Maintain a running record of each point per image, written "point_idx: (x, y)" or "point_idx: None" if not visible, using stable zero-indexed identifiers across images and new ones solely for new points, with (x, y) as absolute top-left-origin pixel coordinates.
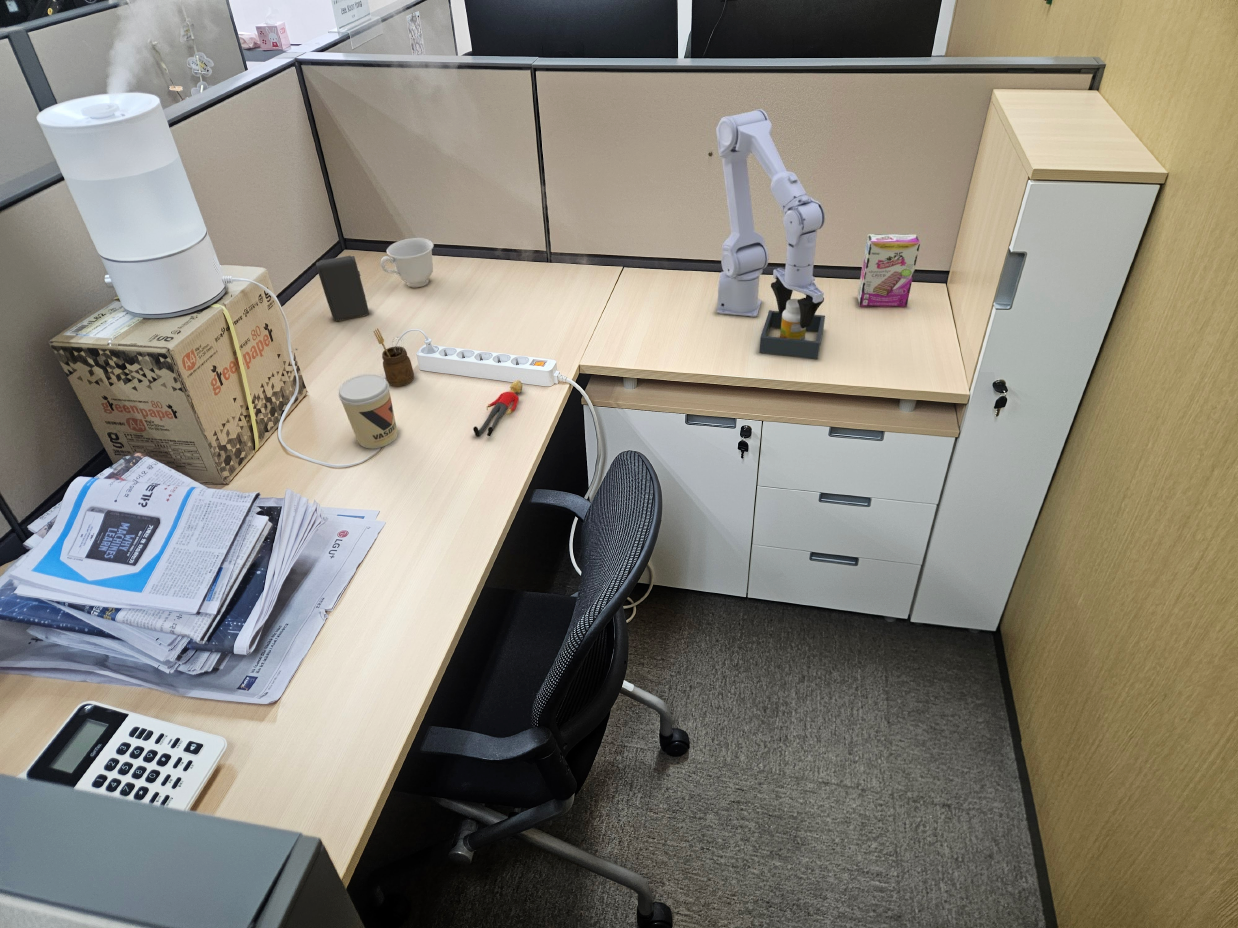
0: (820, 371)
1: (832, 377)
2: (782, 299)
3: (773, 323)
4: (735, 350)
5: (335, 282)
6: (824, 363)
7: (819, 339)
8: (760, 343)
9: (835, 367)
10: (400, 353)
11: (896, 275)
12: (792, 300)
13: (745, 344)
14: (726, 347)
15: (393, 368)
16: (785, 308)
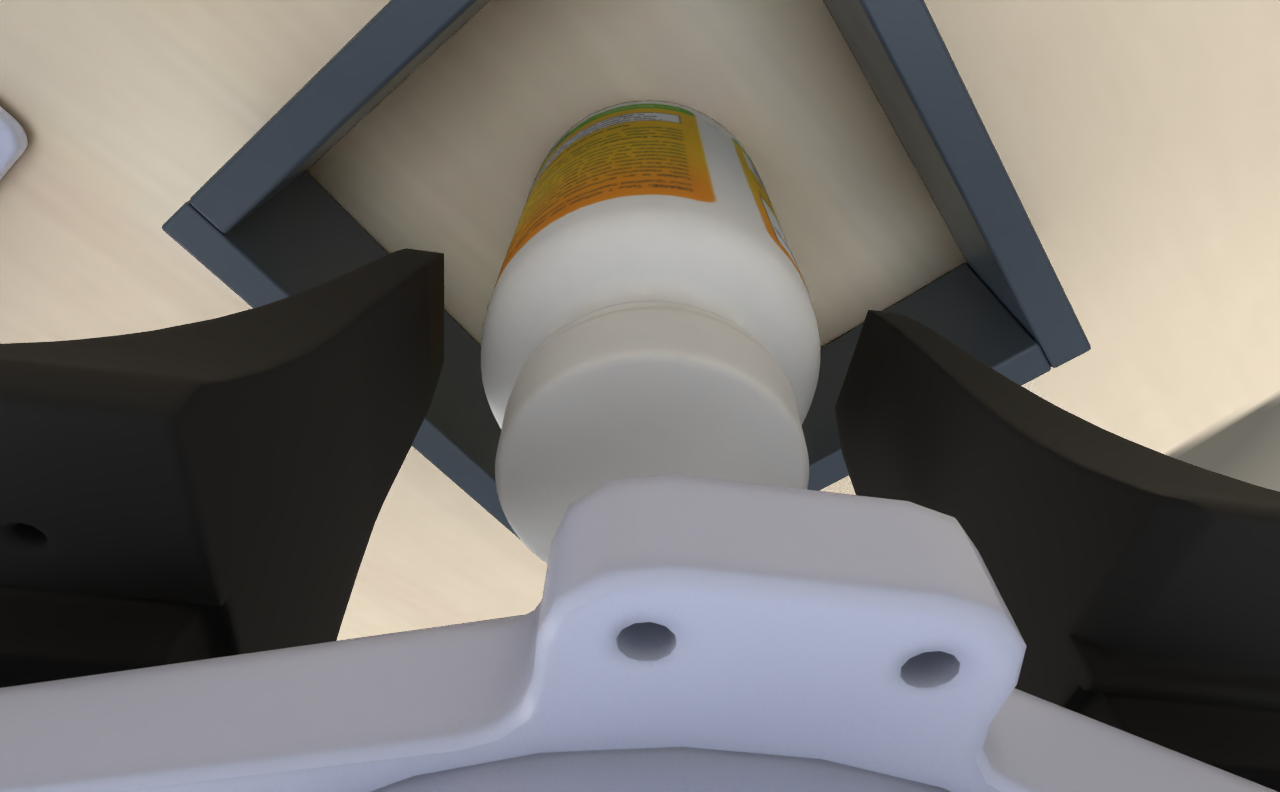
0: (1115, 373)
1: (1238, 369)
2: (370, 474)
3: (302, 172)
4: (471, 572)
5: None
6: (1091, 267)
7: (1055, 296)
8: None
9: (1208, 246)
10: None
11: None
12: (553, 477)
13: (442, 490)
14: (405, 585)
15: None
16: (425, 328)
